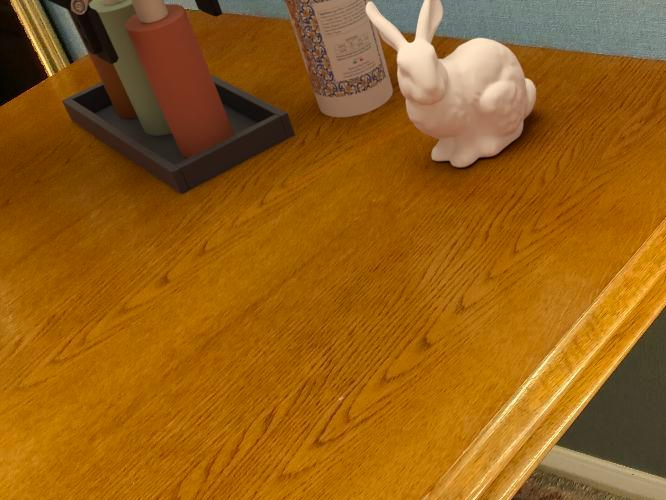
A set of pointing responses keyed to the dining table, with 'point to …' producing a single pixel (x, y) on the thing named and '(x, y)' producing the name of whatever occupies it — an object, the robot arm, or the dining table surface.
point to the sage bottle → (131, 65)
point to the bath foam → (341, 55)
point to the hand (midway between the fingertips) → (160, 35)
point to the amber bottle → (112, 85)
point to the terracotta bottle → (178, 75)
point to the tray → (162, 151)
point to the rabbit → (459, 89)
